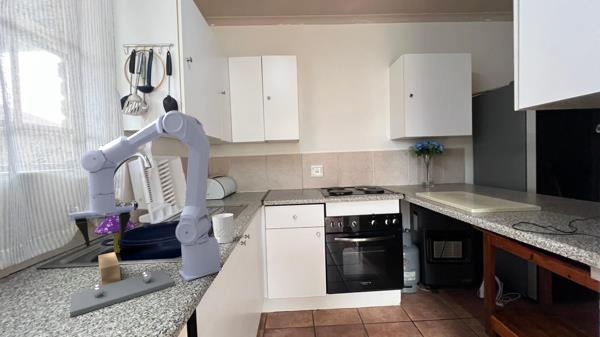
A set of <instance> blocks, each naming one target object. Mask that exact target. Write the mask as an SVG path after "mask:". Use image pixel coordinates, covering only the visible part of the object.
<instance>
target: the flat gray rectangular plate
mask: <svg viewBox="0 0 600 337" xmlns="http://www.w3.org/2000/svg"><path fill="white" fill-rule="evenodd" d="M141 273H142V274H140V275H136V276H133V277H128V278H124V279H122V280H121V281H118V282H114V283H110V284H106V285H103V286H102V283H101V282H99V283H96V284H93V287H91V288H89V289H85V290H81V291H77V292H73V293H71V295H70V308H69V309H70V310H69V315H70V317H69V318H73V317H76V316H79V315H82V314H86V313H89V312H92V311H95V310H99V309H101V308H104V307H109V306H111V305H114V304H118V303H122V302H125V301H127V300H128V301H129V300H131V299H133V298H137V297H140V296H143V295H144V296H145V295H147V294H151V293H154V292H157V291H160V290H163V289H167V288H169V287H174V286H175V283H174V280H173V279H172V278H171V277H170V275H169V274H168V273H167V271H166V270H165V269H163V268H162V269H159V270H155V271H152V272H150V270H145V271H142V272H141Z"/></svg>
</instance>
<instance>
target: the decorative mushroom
mask: <svg viewBox="0 0 600 337" xmlns="http://www.w3.org/2000/svg"><path fill="white" fill-rule="evenodd" d="M110 214H112V213H110ZM136 227H137V225H136V224H135V223H134V222H133V221H132V220H131V219H129V221H128V224H127V226H126V229H125V232H126V231H131V230H133V229H135V228H136ZM93 233H94V234H96V235H112V234H114V236H113V242H112V243H113V248H114V251H113V252H115V254H119V253H121V252H120V250H121V247H120V244H119V245H118V239H119V240H120V226H119V216H118V215H112V216H106V218H105V219H103V221H102V222H101V223H100V224H98V226H97V227H96V228H95V230H93ZM119 247H120V248H119Z"/></svg>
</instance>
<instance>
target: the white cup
mask: <svg viewBox="0 0 600 337" xmlns="http://www.w3.org/2000/svg"><path fill="white" fill-rule="evenodd" d="M211 219H212V220H211V221H212V228H213V233H214V234H213V235H214V236H213V237H215V238H216V239H217V241H218V243H222V244H221V245H223V243H224V244H229V243H231V242H233V241H234V232H235V231H234V230H235V228H234V226H235V225H234V213H226V212H225V213H219V214H218V213H217V214H214V215H211Z"/></svg>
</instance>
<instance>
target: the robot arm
mask: <svg viewBox="0 0 600 337" xmlns="http://www.w3.org/2000/svg"><path fill="white" fill-rule="evenodd" d="M162 136H172V137H174V138H176V139H178V140H180V142H182V144H183V145H185V146H186V147H187V148H188V157H187V172H186V175H187V176H186V186H185V199H184V200H185V201H184V208H183V210H182V212H181V213H180V217H179V222H178V224H177V225H176V228H175V238H176V239H177V240H178V241H179V242H180V247H181V261H182V262H181V263H182V269H180V270H179V271H178V273H179V275H180V276H181V277H182V278H184V280H185V281H187V282H188V281H192V280H195V279H197V278H198V279H199V278H201V277H205V276H208V275H212V274H215V273H218V272H221V271H222V268H221V256H220V245H219V244H218V241H217V239H216V238H215V236H213V237H211V236H210V237H209V232H210V231H211V228H212V222H211V221H212V220H211V218H210V216H209V211H210V210H209V209H208V207H207V206H206V204H207V192H208V191H207V190H208V189H207V188H208V176H209V162H210V151H211V150H210V148H211V142H210V139H209V137H208V136H207V134H206V132H205V130H204V128H203V123H202V122H201V121H200V120H199V119H197V118H196V117H195V116H193V115H190V114H189V115H188V114H186V113H183V112H181V111H180V110H170V111H168V112H166V113H165V114H162V115H159V116H158V118H156V119H155V120H154V121H153V122H150V124H148V125H146V126H145V127H143V128H141V129H140V130H138V131H137V132H135V133H133V134H132V135H130V136H124V135H122V136H119V135H118V136H117V135H116V136H115V137H113V140H112V141H110V142H109V143H107V144H105V145H101V146H99V148H98V149H97V150H96V149H88V150H86V151H85V152H84V153H82V156H81V159H80V164H81V166H82V168H83V169H84V170H85V171H87V185H88V196H89V210H84V211H78V212H70V213H69V214H68V216H69V217H68V218H69V219H68V220H69V222H74V223H75V225H76V227H77V228H78V229H79V231H80V232H81V234H82V238H83V239H84V242H85V246H86V248H88V247H91V242H90V238H89V236H90V235H89V227H88V226H89V225H88V219H89V220H90V219H95V218H104V217H108V216H112V215H118V216H119V226H120V237H119V241H124V240H125V233H126V231H125V229H126V226H127V224H128V221H129V220H131V214H135V206H134V205H128V206H117V207H116V194H115V183H114V182H115V180H114V175H115V169H116V168H117V167H118V165H119V164H120V163H122V162H123V161H126V160H127V159H129V158H130V157H133V156H134V155H136V154H137V152H138V148H140V147H141V146H144V145H146V144H149V143H150V142H152V141H155V140H156V139H158V138H160V137H162ZM111 213H112V214H111Z"/></svg>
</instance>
